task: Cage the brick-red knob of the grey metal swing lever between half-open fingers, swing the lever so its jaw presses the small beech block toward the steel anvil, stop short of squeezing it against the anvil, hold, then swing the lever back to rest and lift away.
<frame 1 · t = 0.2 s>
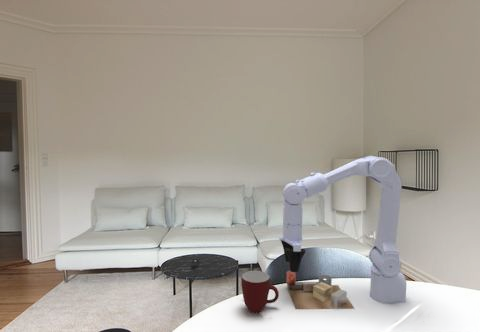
hand: (291, 266, 100), 10 cm above the table, tool pointing down, fingers open, 7 cm apart
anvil: (338, 307, 94), resting on board
nut block: (322, 297, 98), point 1 cm above the table, touching board
lever: (309, 280, 104), point 4 cm above the table, hinge at 0.0°
mug: (259, 310, 93), on the table
board: (318, 299, 99), on the table
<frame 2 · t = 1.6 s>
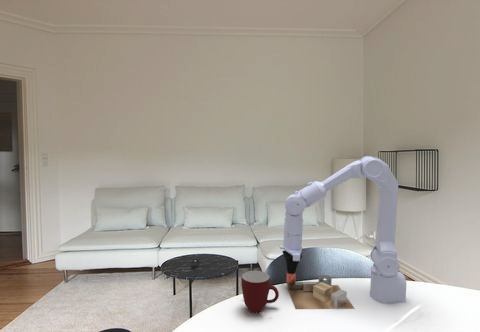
hand: (290, 274, 104), 6 cm above the table, tool pointing down, fingers closed, pressing on lever
lever: (309, 280, 104), point 4 cm above the table, hinge at -0.2°, touching gripper
everything else where it was.
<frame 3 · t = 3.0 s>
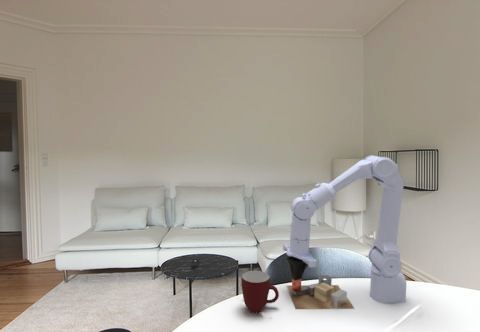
hand: (296, 280, 99), 6 cm above the table, tool pointing down, fingers closed, pressing on lever
lever: (312, 283, 102), point 4 cm above the table, hinge at 23.3°, touching gripper
everything else where it was.
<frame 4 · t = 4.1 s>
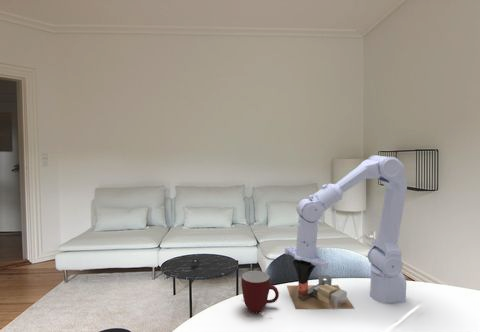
hand: (303, 284, 97), 6 cm above the table, tool pointing down, fingers closed, pressing on lever
nut block: (327, 299, 97), point 1 cm above the table, touching board
lever: (315, 284, 100), point 4 cm above the table, hinge at 38.2°, touching gripper
everything else where it was.
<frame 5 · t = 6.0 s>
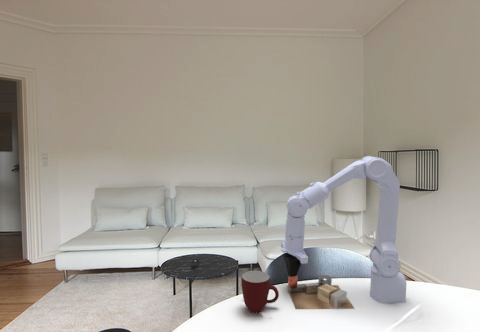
hand: (292, 277, 102), 6 cm above the table, tool pointing down, fingers closed, pressing on lever
lever: (310, 281, 103), point 4 cm above the table, hinge at 10.8°, touching gripper
everything else where it was.
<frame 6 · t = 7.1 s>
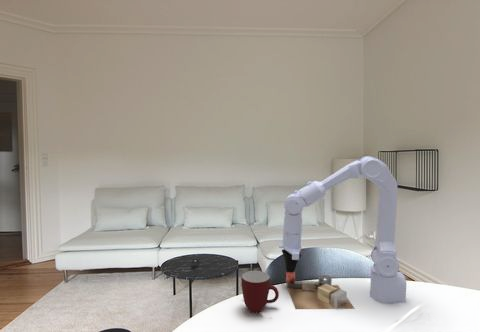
hand: (289, 273, 105), 6 cm above the table, tool pointing down, fingers closed, pressing on lever
lever: (308, 279, 104), point 4 cm above the table, hinge at -5.6°, touching gripper
everything else where it was.
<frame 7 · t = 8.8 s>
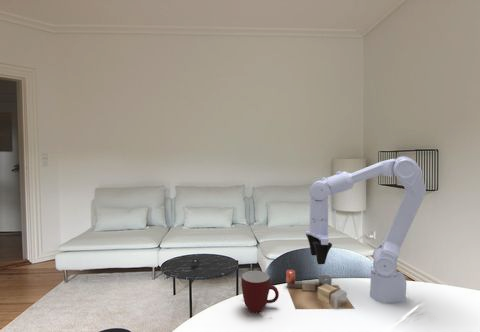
hand: (317, 259, 105), 10 cm above the table, tool pointing down, fingers open, 7 cm apart
lever: (308, 279, 104), point 4 cm above the table, hinge at -5.5°
everything else where it was.
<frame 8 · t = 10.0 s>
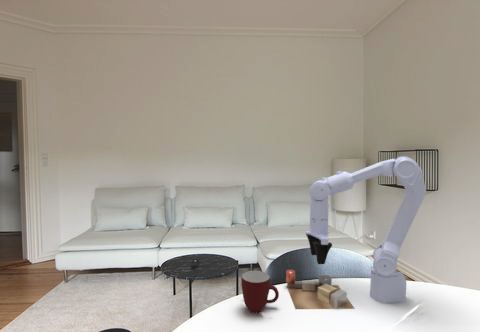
hand: (317, 259, 105), 10 cm above the table, tool pointing down, fingers open, 7 cm apart
nothing on the table moved.
at the end: lever at -6° (first picture: +0°); nut block moved 1.6 cm from its start; nut block 0.7 cm from the target spot, point 1.0 cm above the table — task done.
